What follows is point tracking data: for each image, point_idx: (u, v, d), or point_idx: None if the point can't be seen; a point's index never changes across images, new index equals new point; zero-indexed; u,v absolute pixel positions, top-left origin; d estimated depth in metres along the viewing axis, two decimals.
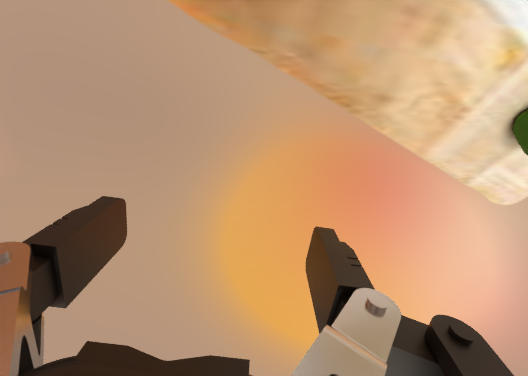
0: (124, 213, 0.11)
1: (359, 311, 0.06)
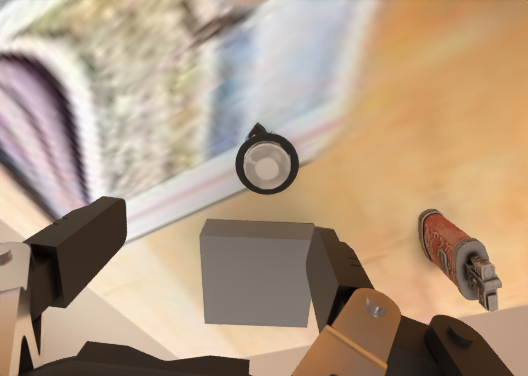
0: (124, 213, 0.11)
1: (359, 311, 0.06)
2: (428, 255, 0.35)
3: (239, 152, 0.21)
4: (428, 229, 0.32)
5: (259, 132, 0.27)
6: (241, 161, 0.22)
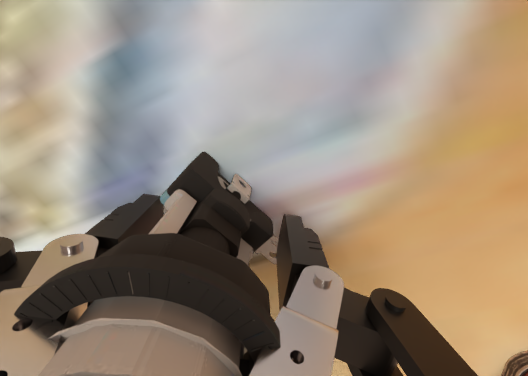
0: (162, 210, 0.11)
1: (309, 288, 0.07)
2: None
3: None
4: None
5: (195, 183, 0.10)
6: None
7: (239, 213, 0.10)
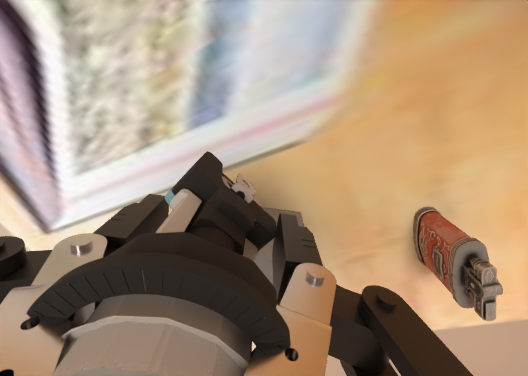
0: (167, 210, 0.11)
1: (302, 285, 0.07)
2: (421, 257, 0.32)
3: None
4: (423, 228, 0.29)
5: (200, 183, 0.10)
6: None
7: (244, 213, 0.10)
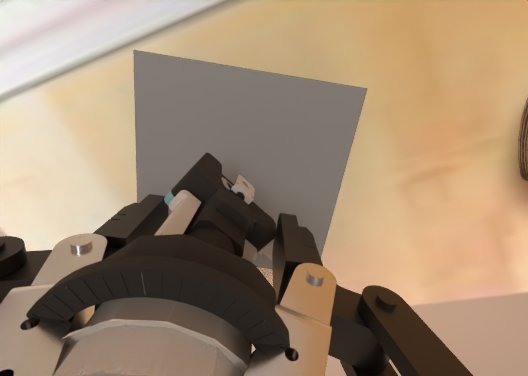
0: (167, 210, 0.11)
1: (302, 285, 0.07)
2: None
3: None
4: None
5: (200, 184, 0.10)
6: None
7: (244, 214, 0.10)
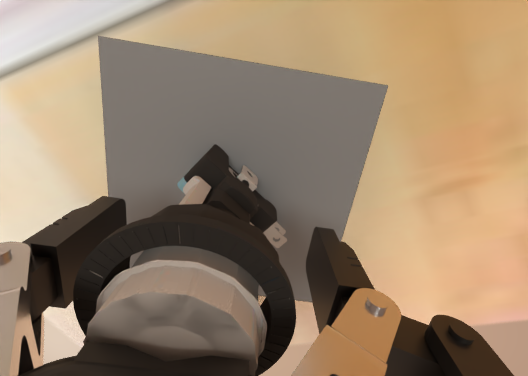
0: (124, 213, 0.11)
1: (359, 311, 0.06)
2: None
3: (85, 270, 0.06)
4: None
5: (210, 171, 0.12)
6: (94, 297, 0.06)
7: (249, 198, 0.11)
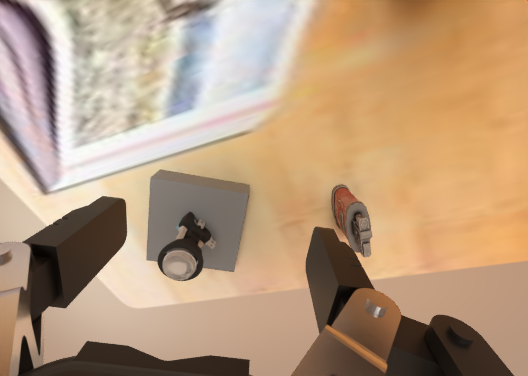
0: (124, 213, 0.11)
1: (359, 311, 0.06)
2: (337, 222, 0.44)
3: (161, 252, 0.30)
4: (336, 199, 0.41)
5: (187, 223, 0.36)
6: (162, 258, 0.31)
7: (199, 233, 0.36)
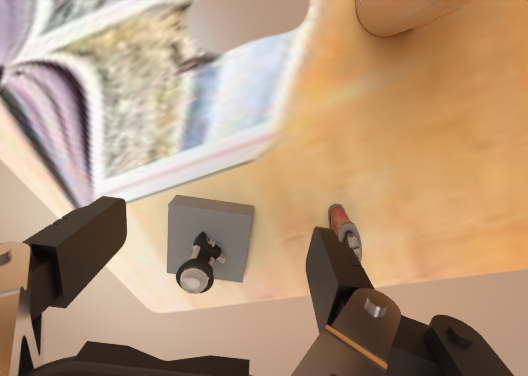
0: (124, 213, 0.11)
1: (359, 311, 0.06)
2: None
3: (178, 270, 0.36)
4: (332, 217, 0.46)
5: (200, 243, 0.42)
6: (179, 274, 0.37)
7: (210, 251, 0.41)
